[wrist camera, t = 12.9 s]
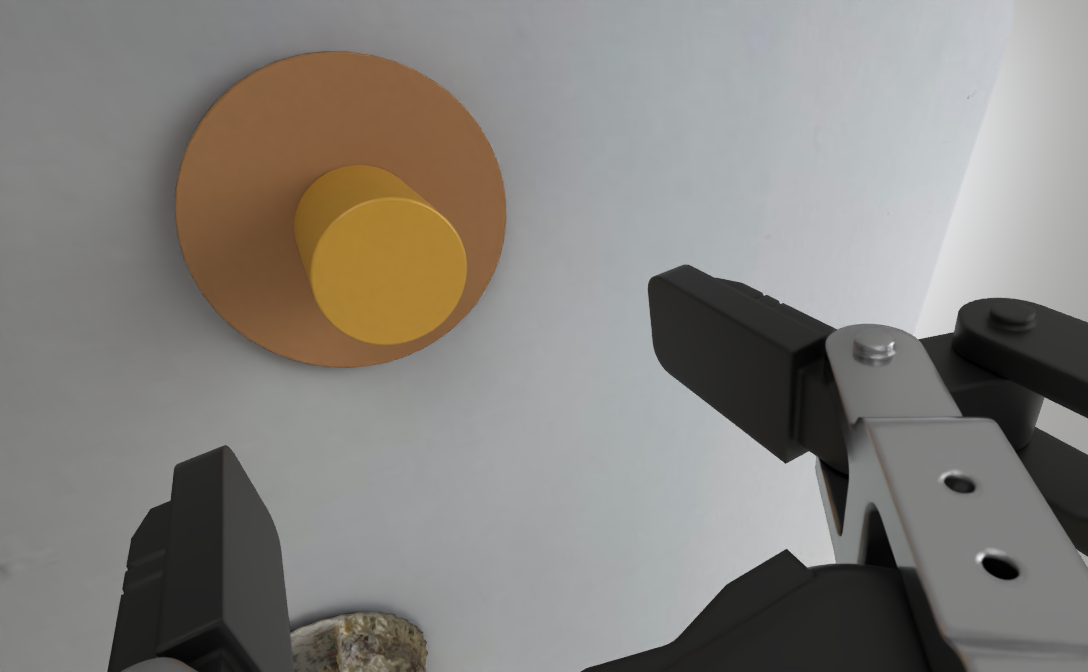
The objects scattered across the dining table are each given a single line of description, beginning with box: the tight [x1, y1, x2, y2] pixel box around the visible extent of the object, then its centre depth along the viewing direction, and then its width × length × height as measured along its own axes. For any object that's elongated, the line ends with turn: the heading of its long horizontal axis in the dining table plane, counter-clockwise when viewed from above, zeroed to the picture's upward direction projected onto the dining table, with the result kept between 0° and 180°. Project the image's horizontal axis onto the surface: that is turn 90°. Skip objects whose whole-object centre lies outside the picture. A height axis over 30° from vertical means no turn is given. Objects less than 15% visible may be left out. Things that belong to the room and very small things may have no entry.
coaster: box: [175, 52, 506, 368], centre depth 21 cm, size 11×11×1 cm
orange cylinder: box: [294, 165, 467, 345], centre depth 19 cm, size 4×4×5 cm
